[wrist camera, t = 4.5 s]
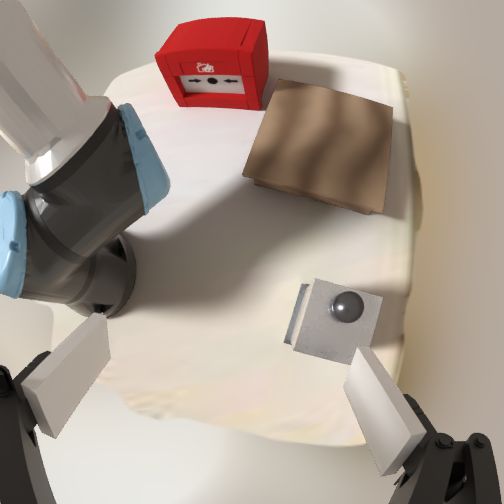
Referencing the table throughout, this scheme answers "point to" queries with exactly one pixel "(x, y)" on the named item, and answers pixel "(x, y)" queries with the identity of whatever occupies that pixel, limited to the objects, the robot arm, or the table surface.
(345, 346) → the aluminium housing
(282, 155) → the walnut stand
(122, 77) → the table surface
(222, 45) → the fire alarm
